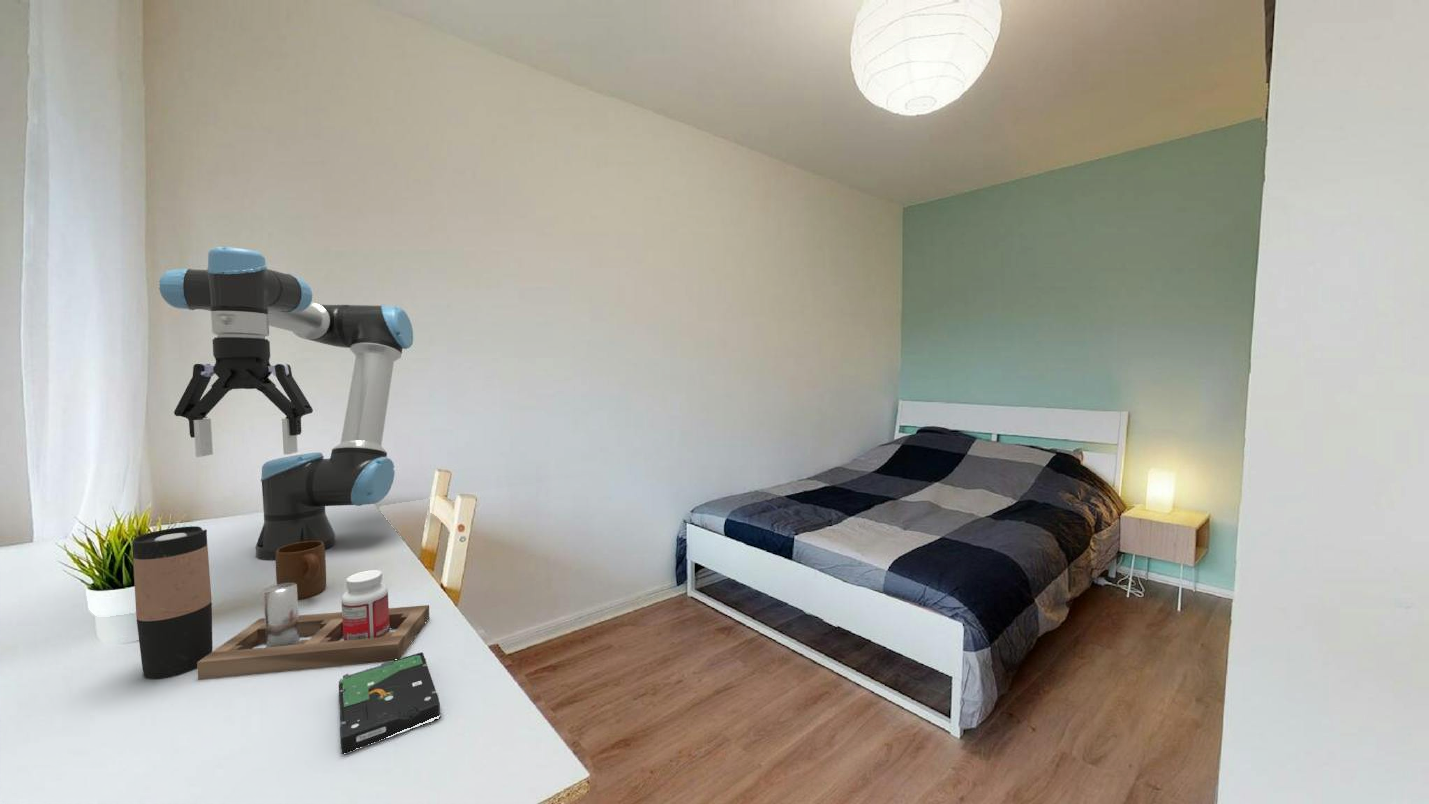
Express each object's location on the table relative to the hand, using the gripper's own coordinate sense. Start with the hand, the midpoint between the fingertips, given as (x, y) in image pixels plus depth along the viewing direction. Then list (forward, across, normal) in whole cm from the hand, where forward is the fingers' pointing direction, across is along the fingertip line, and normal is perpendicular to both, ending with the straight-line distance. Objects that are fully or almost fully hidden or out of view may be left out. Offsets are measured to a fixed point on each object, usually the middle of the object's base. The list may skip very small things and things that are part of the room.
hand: (248, 454), depth 92 cm
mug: (+29, +6, +4) cm, 30 cm away
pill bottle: (+29, +26, -17) cm, 42 cm away
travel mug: (+29, +1, -19) cm, 35 cm away
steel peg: (+29, +14, -17) cm, 36 cm away
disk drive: (+29, +36, -34) cm, 58 cm away
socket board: (+29, +20, -17) cm, 39 cm away
